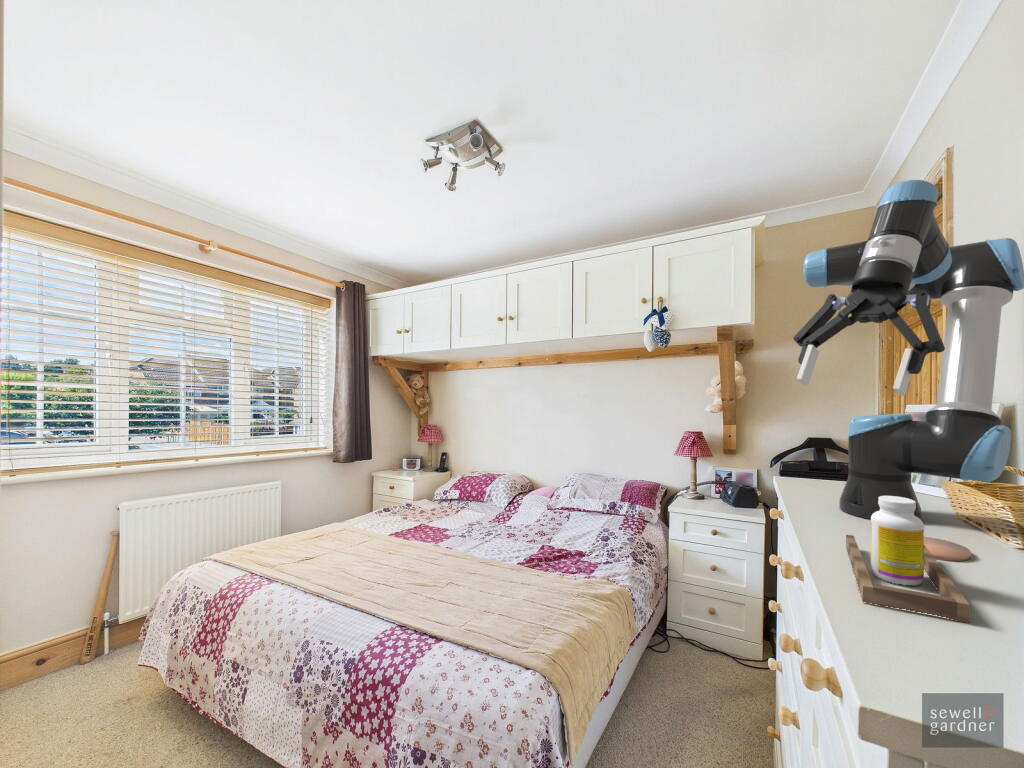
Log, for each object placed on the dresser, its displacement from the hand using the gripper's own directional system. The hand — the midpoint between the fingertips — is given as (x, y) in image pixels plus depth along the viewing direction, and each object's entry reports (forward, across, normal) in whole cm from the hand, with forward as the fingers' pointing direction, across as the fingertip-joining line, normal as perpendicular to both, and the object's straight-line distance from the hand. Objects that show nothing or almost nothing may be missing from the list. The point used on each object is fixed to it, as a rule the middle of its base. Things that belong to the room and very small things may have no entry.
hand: (846, 387), depth 75 cm
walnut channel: (+25, +7, +19) cm, 32 cm away
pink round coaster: (+16, +6, +37) cm, 41 cm away
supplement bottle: (+25, +7, +19) cm, 32 cm away
